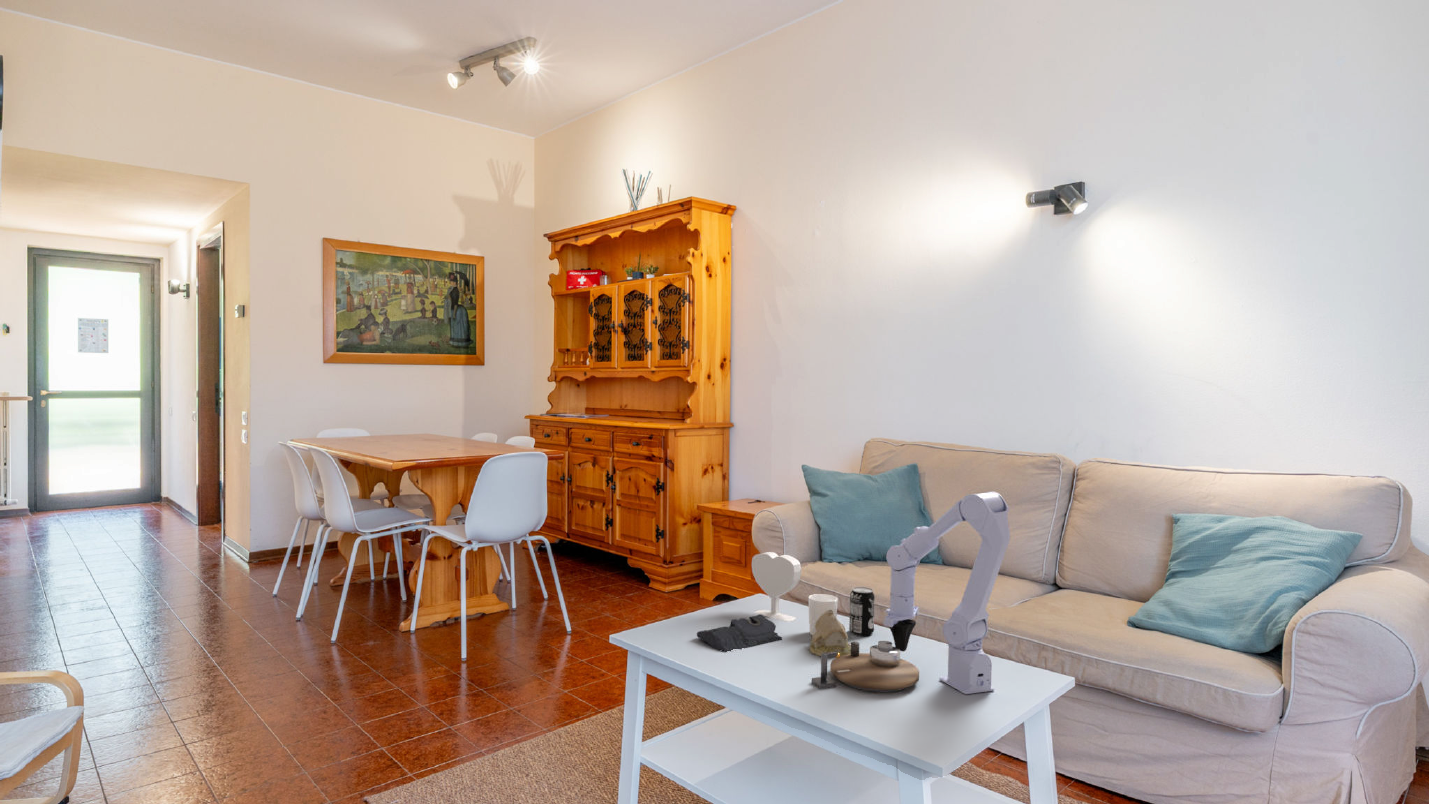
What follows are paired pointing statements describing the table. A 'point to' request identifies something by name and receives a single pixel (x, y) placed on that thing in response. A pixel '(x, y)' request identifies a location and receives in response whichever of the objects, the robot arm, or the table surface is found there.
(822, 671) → the grey bent lever
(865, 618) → the beverage can
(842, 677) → the turntable
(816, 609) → the white cup
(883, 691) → the turntable base
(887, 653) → the cover
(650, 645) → the table surface
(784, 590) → the heart sculpture
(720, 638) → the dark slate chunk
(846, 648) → the ceramic model
